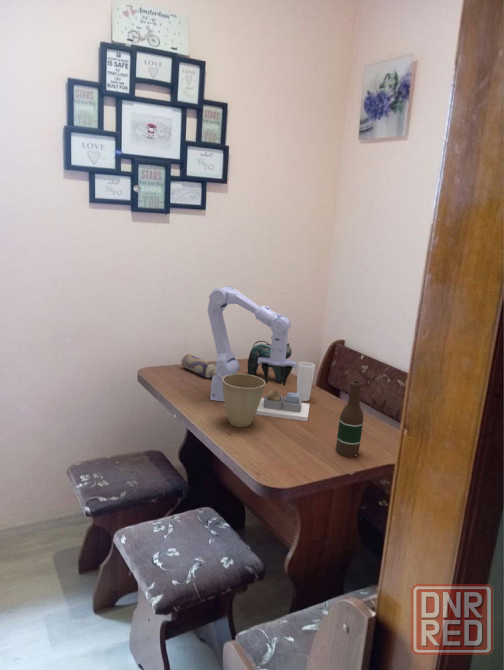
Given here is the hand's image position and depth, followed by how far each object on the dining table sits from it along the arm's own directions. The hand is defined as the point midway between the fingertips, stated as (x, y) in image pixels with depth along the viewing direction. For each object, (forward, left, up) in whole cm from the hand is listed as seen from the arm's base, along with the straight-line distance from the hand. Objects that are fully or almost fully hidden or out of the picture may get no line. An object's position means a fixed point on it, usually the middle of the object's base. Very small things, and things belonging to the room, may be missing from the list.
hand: (275, 383), depth 202 cm
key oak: (0, 0, -6) cm, 6 cm away
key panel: (+4, 0, -10) cm, 11 cm away
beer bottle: (+28, -28, -11) cm, 41 cm away
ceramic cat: (-7, +35, -11) cm, 38 cm away
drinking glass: (+11, +15, -11) cm, 21 cm away
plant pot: (-10, -17, -11) cm, 22 cm away
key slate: (+7, 0, -6) cm, 9 cm away
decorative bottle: (-35, +29, -11) cm, 47 cm away
